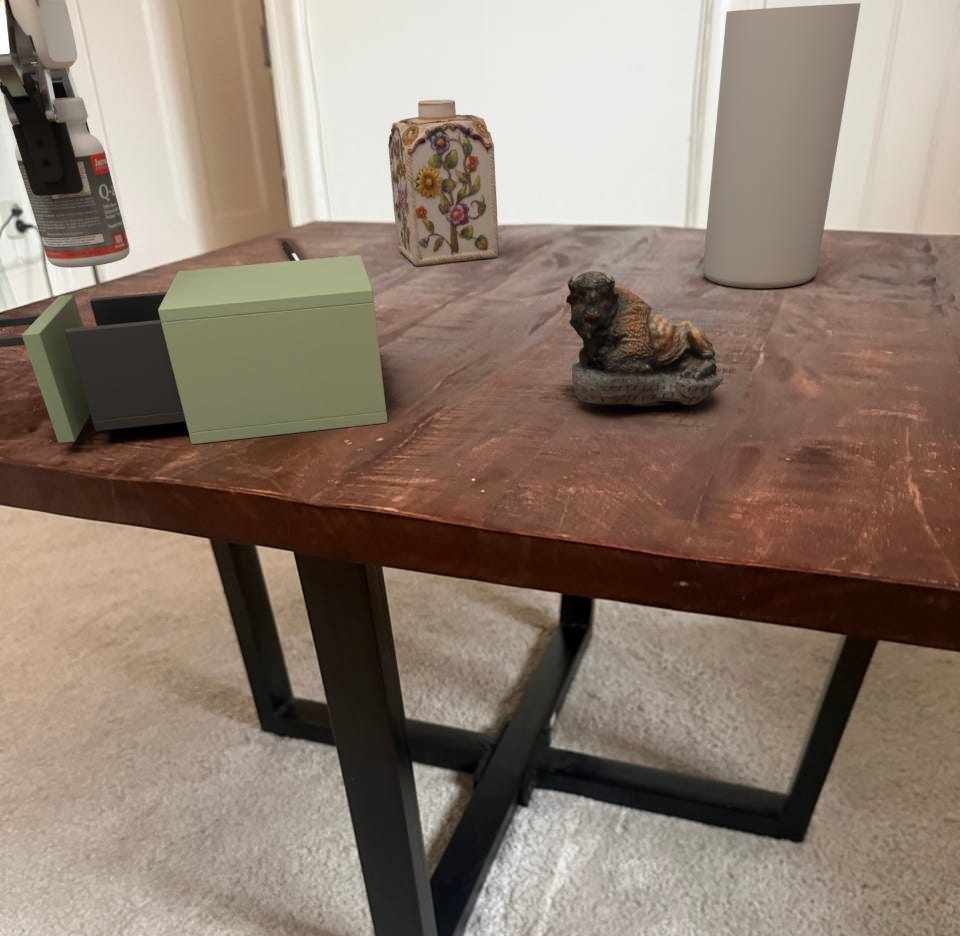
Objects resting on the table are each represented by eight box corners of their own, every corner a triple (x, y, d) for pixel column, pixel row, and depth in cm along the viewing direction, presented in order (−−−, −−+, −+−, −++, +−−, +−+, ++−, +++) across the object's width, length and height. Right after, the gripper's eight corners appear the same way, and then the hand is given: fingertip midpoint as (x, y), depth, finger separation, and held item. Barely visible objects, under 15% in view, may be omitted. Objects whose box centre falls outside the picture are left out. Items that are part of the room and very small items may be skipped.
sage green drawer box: (191, 444, 65) (157, 309, 60) (205, 390, 76) (177, 270, 70) (387, 422, 67) (372, 289, 61) (374, 372, 77) (361, 254, 72)
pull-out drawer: (-23, 452, 63) (-67, 342, 59) (18, 400, 73) (-17, 302, 68) (245, 423, 66) (222, 315, 61) (251, 376, 75) (232, 280, 71)
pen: (296, 270, 114) (295, 261, 113) (281, 245, 129) (279, 237, 129) (303, 270, 114) (302, 260, 114) (287, 245, 129) (285, 237, 129)
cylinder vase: (736, 261, 107) (765, 10, 93) (835, 272, 99) (882, 2, 85) (681, 281, 100) (702, 12, 85) (782, 295, 92) (824, 4, 78)
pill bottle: (137, 261, 62) (95, 97, 56) (53, 273, 60) (0, 105, 54) (125, 248, 66) (85, 95, 61) (46, 259, 64) (-4, 102, 59)
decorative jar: (396, 251, 122) (382, 101, 112) (476, 242, 124) (469, 94, 114) (414, 268, 113) (400, 105, 102) (500, 258, 115) (494, 98, 105)
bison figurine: (703, 385, 70) (716, 252, 65) (734, 415, 65) (752, 272, 59) (557, 398, 70) (558, 264, 64) (576, 430, 64) (578, 286, 58)
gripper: (-51, -134, 57) (42, 177, 67) (-164, -195, 43) (-24, 210, 53) (68, -138, 58) (142, 169, 68) (-4, -199, 44) (103, 200, 54)
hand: (68, 184), depth 60 cm, fingers closed on pill bottle, 5 cm apart
